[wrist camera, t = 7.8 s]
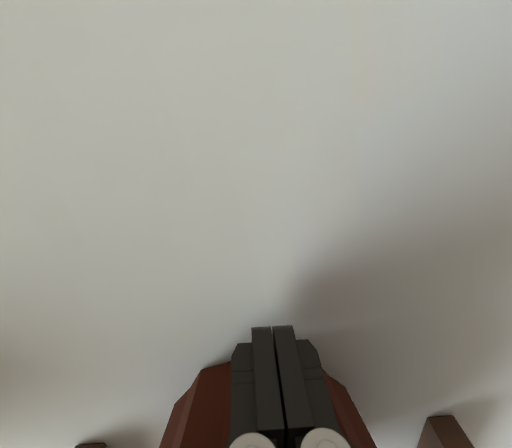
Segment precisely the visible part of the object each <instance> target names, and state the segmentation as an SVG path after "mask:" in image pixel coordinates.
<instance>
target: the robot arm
mask: <svg viewBox="0 0 512 448" xmlns="http://www.w3.org/2000/svg"><path fill="white" fill-rule="evenodd" d="M251 330H252V343H239V344H237V346H236V348H235V350H234V352H233V354H232V364H231V408H230V435H229V439H228V442H227V445H226V447H225V448H357V447H356V446H354V445H353V444H352V443H351V442H350V441H349V440H348V439H347V438H346V437H345V435H344V434H343V433H342V431H341V429H340V427H339V424H338V421H337V418H336V414H335V411H334V408H333V404H332V401H331V397H330V394H329V391H328V387H327V384H326V380H325V379H324V374H323V370H322V367H321V363H320V360H319V357H318V353H317V350H316V349H315V348H314V347H313V345H312V344H311V343H310V342H309V340H308V339H307V340H296V339H295V334H294V330H293V326H292V325H287V326H273V327H272V331H271V327H253V328H251Z"/></svg>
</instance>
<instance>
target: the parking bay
mask: <svg viewBox="0 0 512 448" xmlns="http://www.w3.org/2000/svg"><path fill="white" fill-rule="evenodd" d="M75 448H106V446H105V444H104V443H102V444H90V445H77V446H75ZM417 448H474V446H473V445H472V443H471V442H470V440H469V439H468V437H467V436H466V434H465V433H464V431H463V429H462V428H461V426H460V425H459V423H458V422H457V420H456V419H455V417H454V416H443V417H430V418H427V421H426V424H425V427H424V430H423V433H422V435H421V438H420V441H419V444H418V447H417Z"/></svg>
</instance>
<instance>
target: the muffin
mask: <svg viewBox="0 0 512 448" xmlns="http://www.w3.org/2000/svg"><path fill="white" fill-rule="evenodd" d="M231 364H232V362H230V363H226V364H222V365H218V366H215V367H211V368H207V369H203V370H201V371H200V373H199V374H198V376H197V378H196V379H195V381H194V383H193V384H192V386H191V388H190V389H189V390H188V391H187V392H186V393H185V394H184V395H183V396H182V397H181V398H180V399H179V400H178V401H177V402H176V403H175V405H174V408H173V410H172V413H171V416H170V419H169V422H168V424H167V427H166V430H165V433H164V436H163V438H162V441H161V444H160V447H159V448H225V447H226V445H227V442H228V439H229V435H230V408H231ZM322 370H323V369H322ZM323 374H324V379H325V380H326V384H327V387H328V391H329V394H330V397H331V401H332V404H333V408H334V411H335V414H336V418H337V421H338V424H339V427H340V429H341V431H342V433H343V434H344V435H345V437H346V438H347V439H348V440H349V441H350V442H351V443H352V444H353V445H354V446H356V447H357V448H377V447H376V445H375V443H374V441H373V439H372V437H371V436H370V434H369V432H368V430H367V428H366V426H365V424H364V422H363V420H362V418H361V417H360V415H359V413H358V411H357V409H356V407H355V405H354V403H353V401H352V399H351V397H350V396H349V394H348V392H347V390H346V388H345V387H344V386H342V385H341V384H340V383H338V382H337V381H335V380H334V379H333V378H331V377H330V376H328V375H327V374H326V372H325V371H324V370H323Z"/></svg>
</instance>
